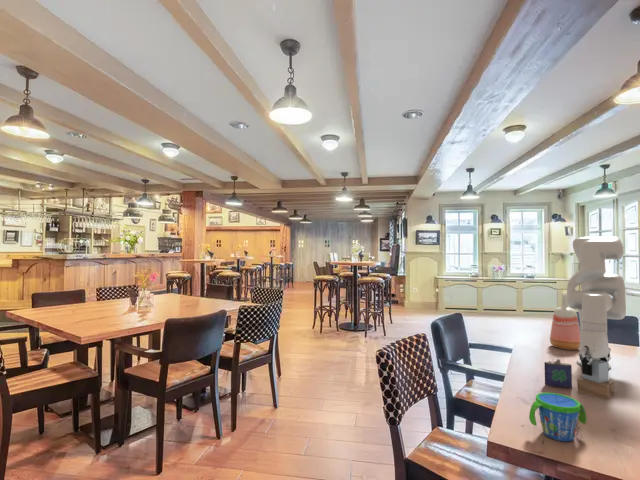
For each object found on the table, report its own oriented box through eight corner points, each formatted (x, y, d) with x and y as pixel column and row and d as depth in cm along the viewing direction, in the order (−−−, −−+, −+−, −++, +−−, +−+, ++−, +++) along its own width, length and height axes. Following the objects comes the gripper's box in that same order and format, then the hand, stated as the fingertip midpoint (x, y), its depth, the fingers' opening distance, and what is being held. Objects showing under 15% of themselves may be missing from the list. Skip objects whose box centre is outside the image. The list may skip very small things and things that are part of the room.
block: (585, 387, 139) (585, 374, 139) (614, 394, 132) (614, 380, 132) (577, 392, 133) (577, 379, 134) (607, 400, 126) (607, 386, 126)
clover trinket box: (570, 386, 139) (570, 358, 139) (573, 389, 136) (573, 360, 136) (543, 384, 141) (543, 356, 141) (546, 386, 138) (545, 358, 139)
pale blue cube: (591, 376, 137) (591, 357, 137) (608, 381, 131) (608, 362, 132) (582, 378, 134) (582, 359, 135) (599, 383, 129) (599, 363, 129)
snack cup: (540, 445, 96) (540, 406, 96) (520, 426, 106) (519, 391, 107) (600, 446, 95) (599, 408, 96) (573, 427, 106) (573, 392, 106)
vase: (588, 351, 188) (587, 295, 190) (561, 351, 189) (560, 295, 190) (569, 344, 203) (568, 292, 204) (544, 344, 203) (543, 292, 204)
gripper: (597, 323, 140) (598, 367, 140) (568, 326, 134) (569, 372, 133) (619, 327, 133) (621, 373, 133) (590, 330, 127) (591, 379, 126)
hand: (595, 373), depth 133 cm, fingers open, 9 cm apart
